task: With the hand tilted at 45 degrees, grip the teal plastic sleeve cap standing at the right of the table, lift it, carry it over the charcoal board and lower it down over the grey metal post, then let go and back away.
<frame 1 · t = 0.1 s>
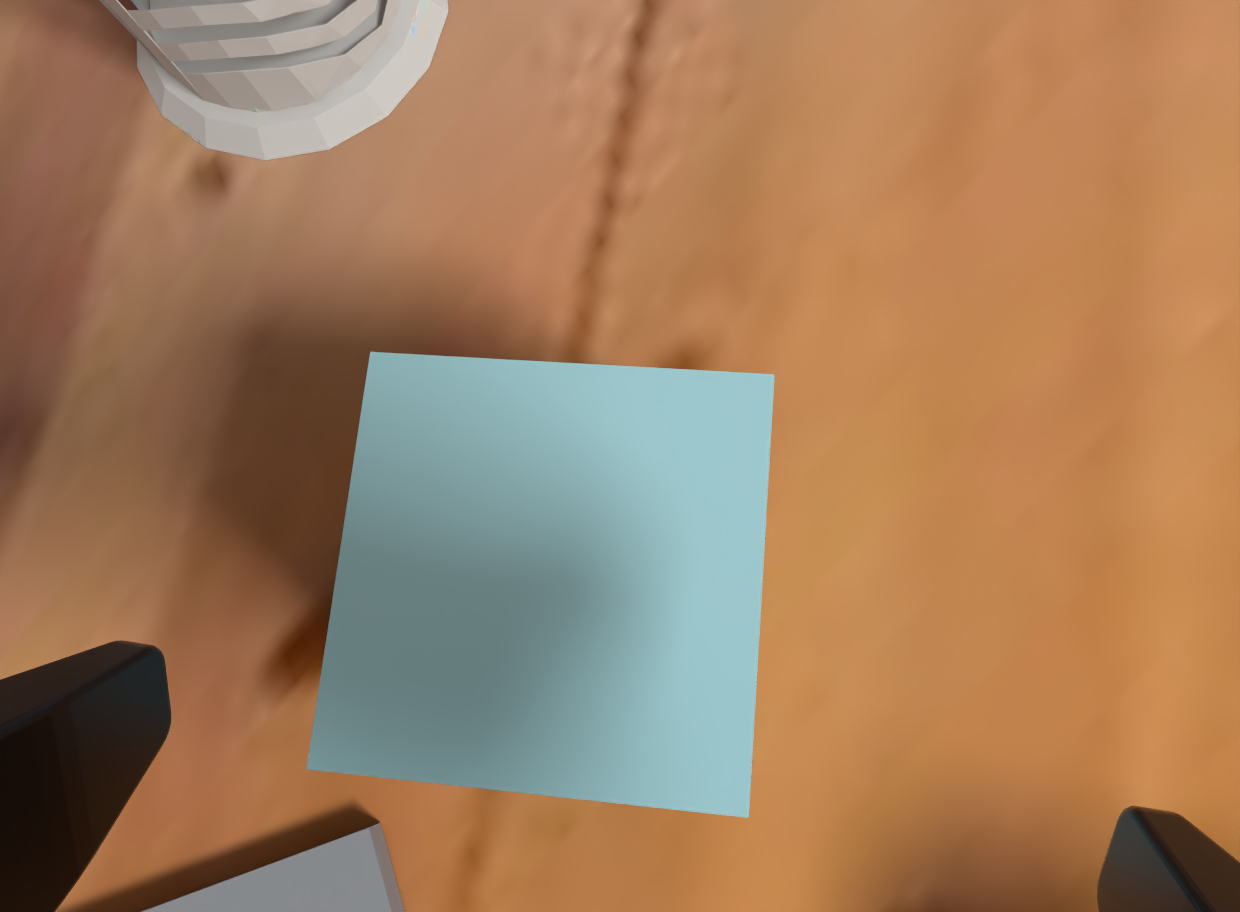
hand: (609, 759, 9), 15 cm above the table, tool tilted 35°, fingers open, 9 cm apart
sleeve cap: (608, 605, 24), on the table
french press: (264, 26, 29), on the table
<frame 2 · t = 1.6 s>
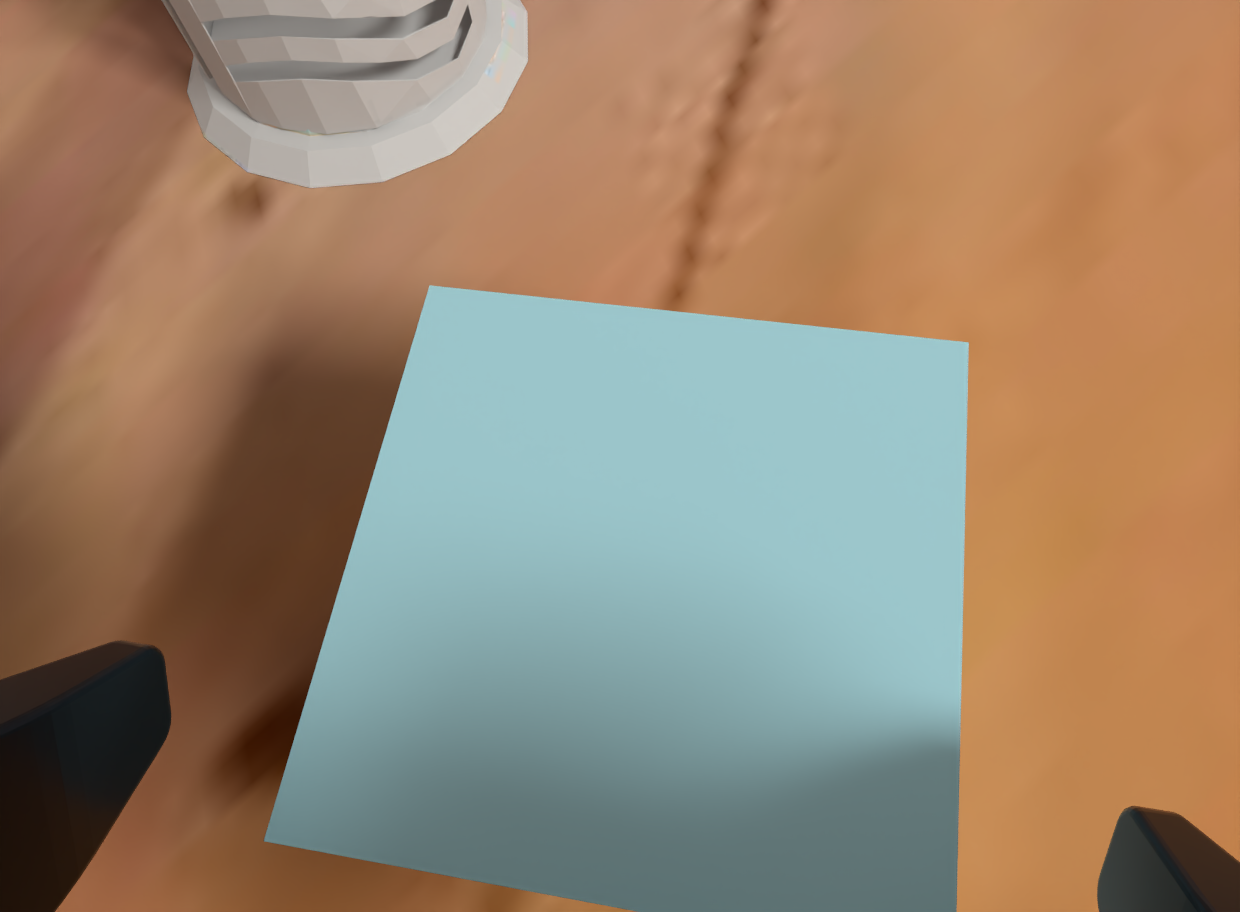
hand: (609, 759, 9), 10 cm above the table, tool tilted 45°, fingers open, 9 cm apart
sleeve cap: (665, 712, 19), on the table
french press: (329, 64, 27), on the table
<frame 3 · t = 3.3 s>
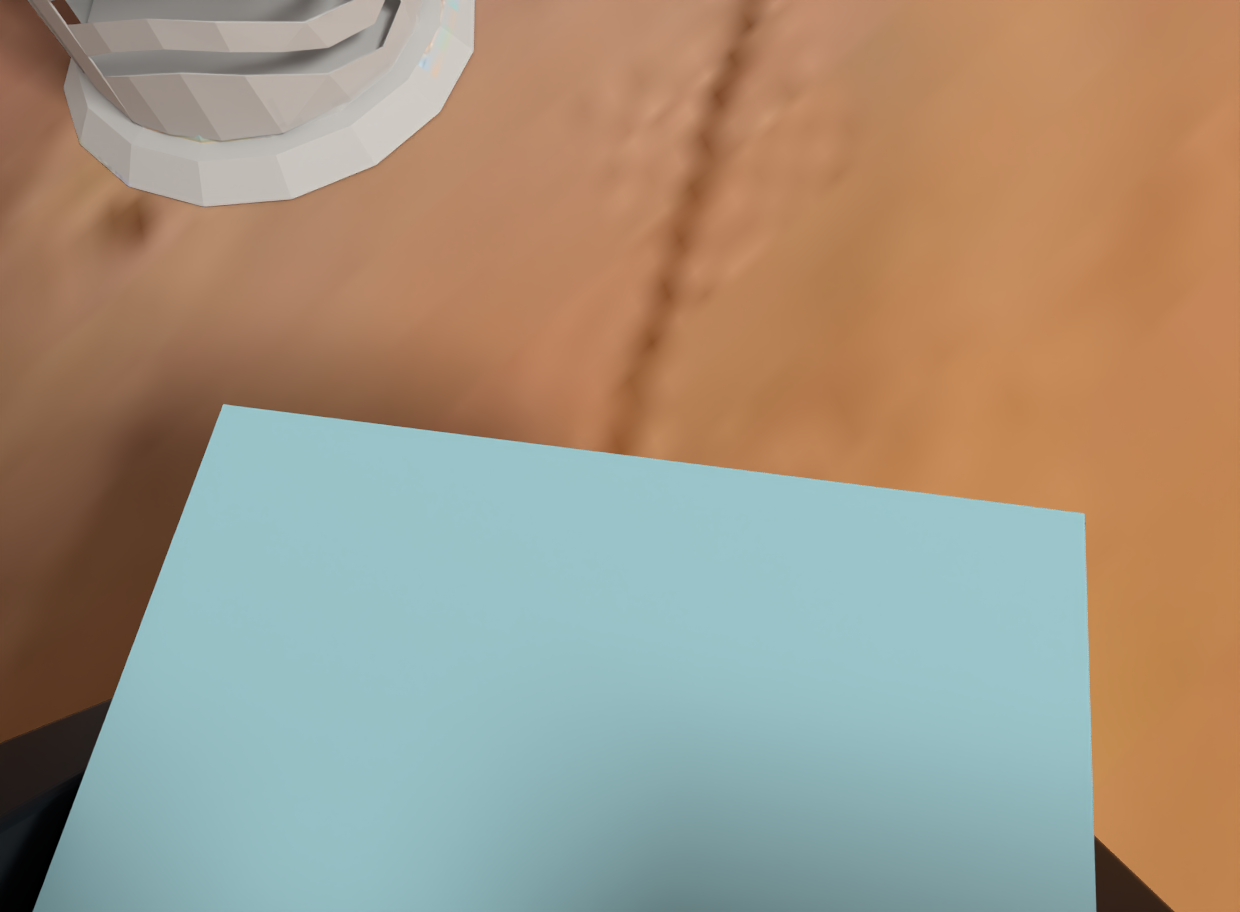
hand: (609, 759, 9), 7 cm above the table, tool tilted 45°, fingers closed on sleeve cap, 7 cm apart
sleeve cap: (626, 908, 14), on the table, touching gripper
french press: (237, 54, 23), on the table
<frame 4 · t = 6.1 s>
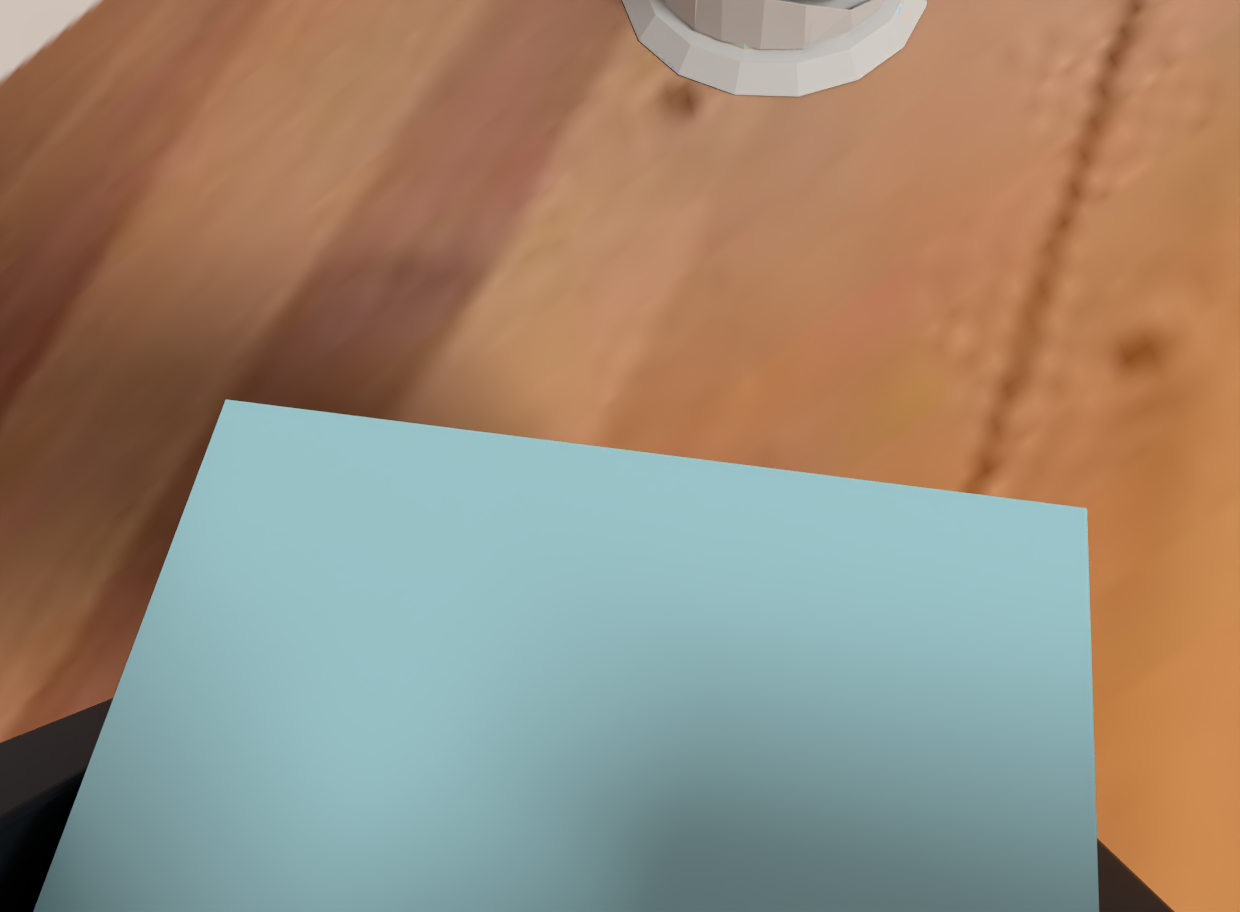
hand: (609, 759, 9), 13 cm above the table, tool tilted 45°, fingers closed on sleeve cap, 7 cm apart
sleeve cap: (627, 905, 14), point 7 cm above the table, touching gripper
when the fingers open (8 cm above the table, at t = 8.8 s): sleeve cap stays where it is, resting on post board.
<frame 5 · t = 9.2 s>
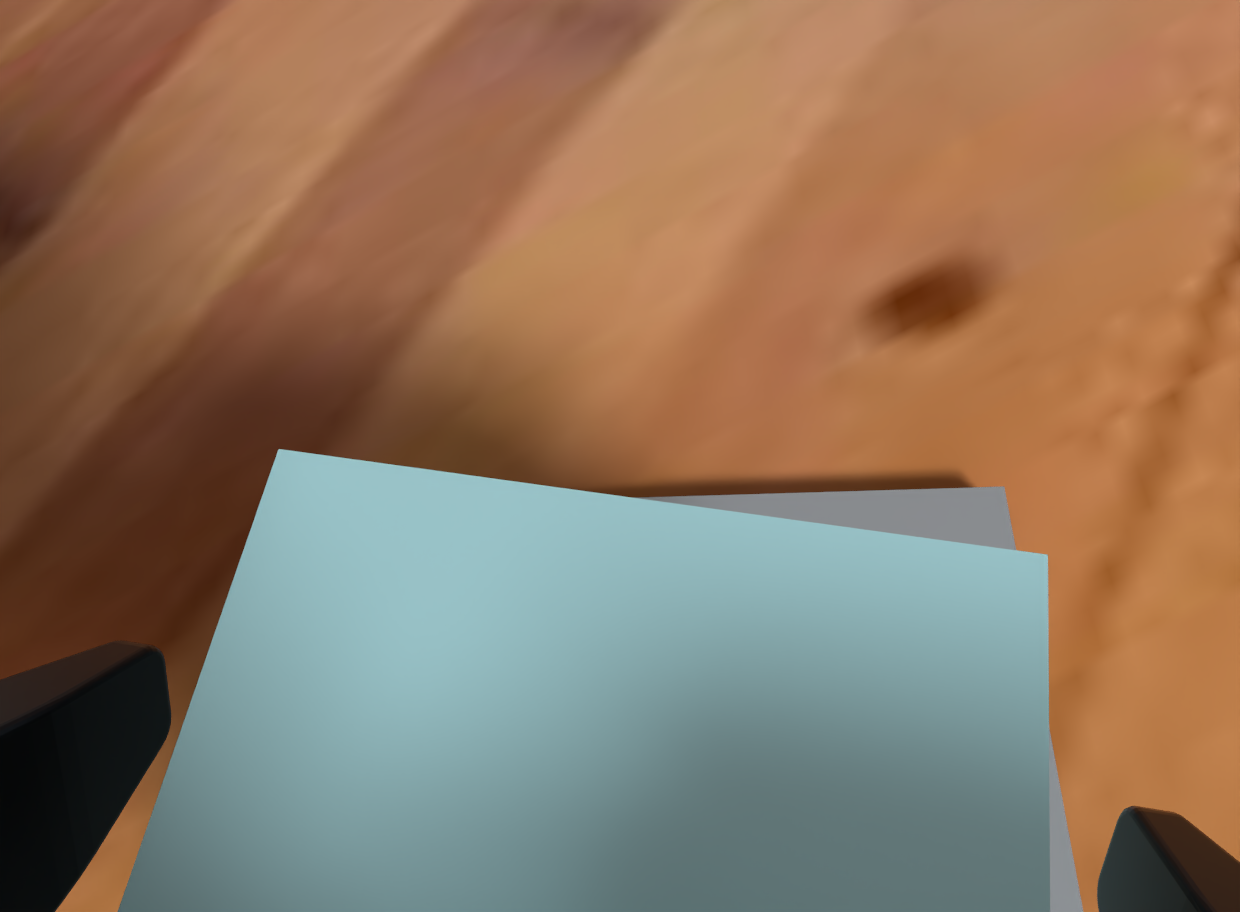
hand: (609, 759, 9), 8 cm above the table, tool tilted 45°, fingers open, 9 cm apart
sleeve cap: (633, 904, 15), point 1 cm above the table, touching post board
post board: (633, 905, 16), on the table
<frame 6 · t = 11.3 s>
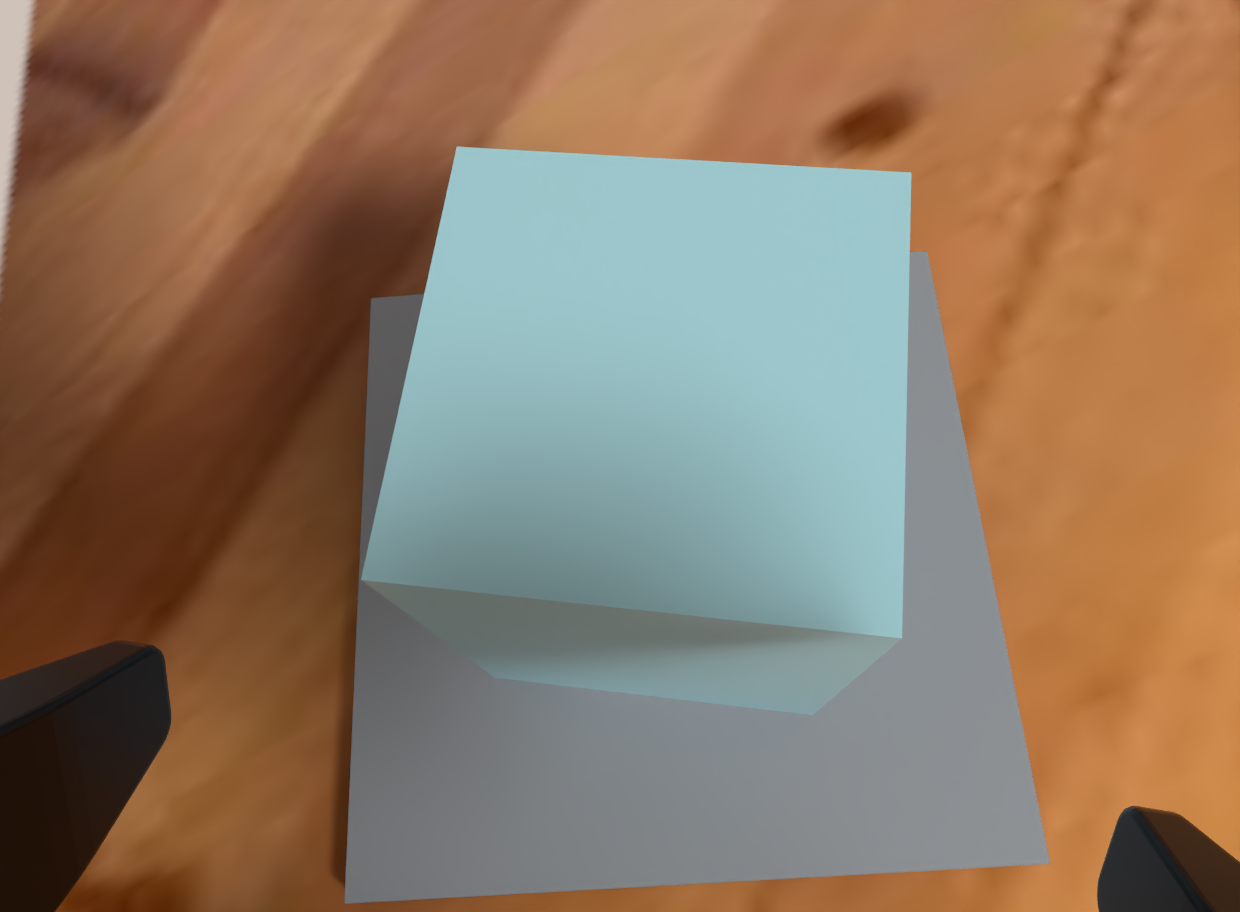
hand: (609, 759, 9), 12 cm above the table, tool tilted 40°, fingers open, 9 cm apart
sleeve cap: (667, 542, 21), point 1 cm above the table, touching post board
post board: (666, 553, 22), on the table
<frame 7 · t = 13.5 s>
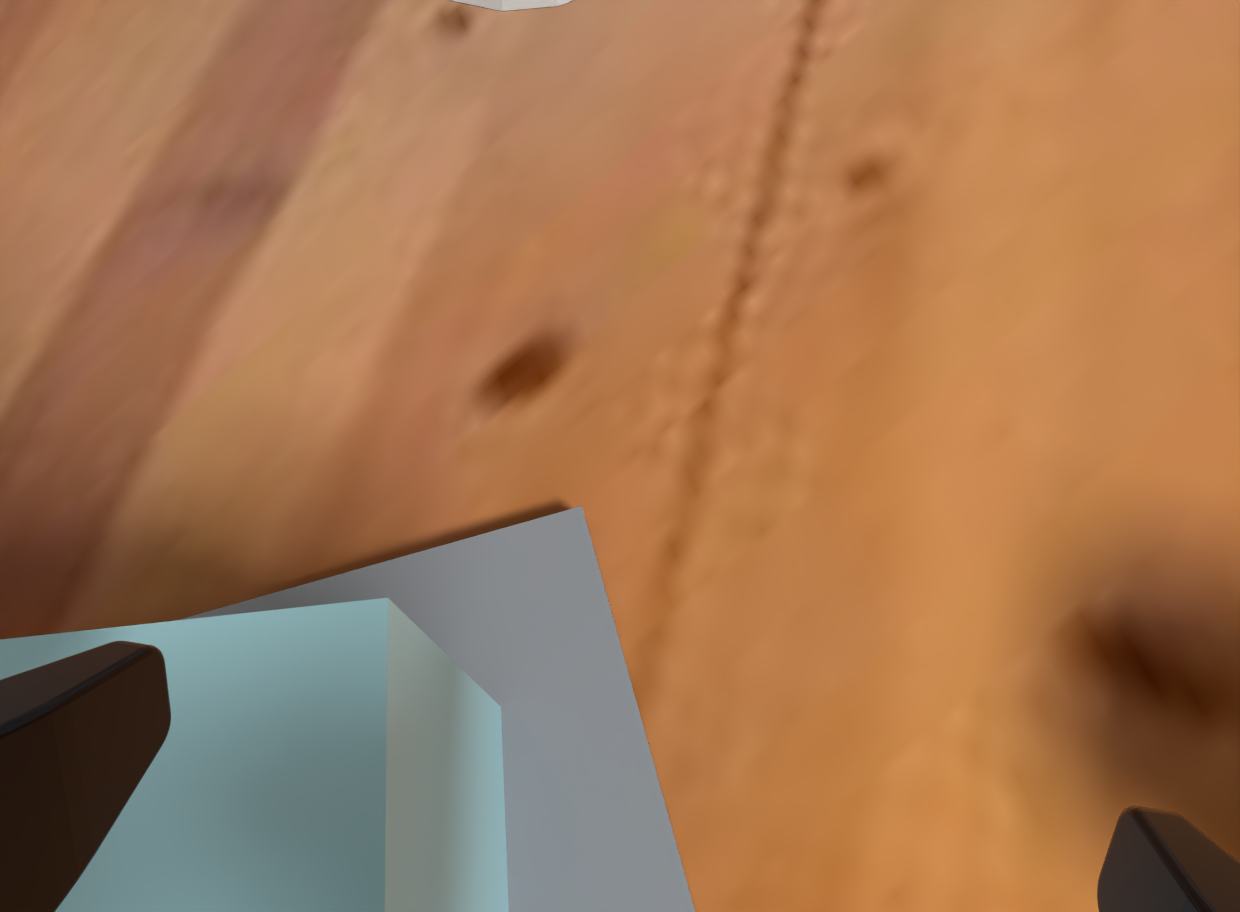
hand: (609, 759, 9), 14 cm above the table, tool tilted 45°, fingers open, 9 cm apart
sleeve cap: (349, 884, 20), point 1 cm above the table, touching post board
post board: (360, 886, 21), on the table
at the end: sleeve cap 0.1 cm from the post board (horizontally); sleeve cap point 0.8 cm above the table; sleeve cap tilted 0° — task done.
